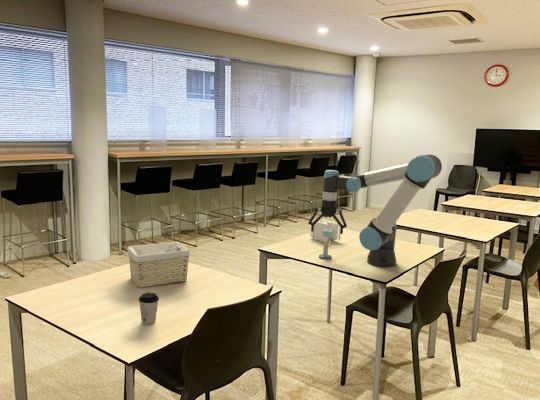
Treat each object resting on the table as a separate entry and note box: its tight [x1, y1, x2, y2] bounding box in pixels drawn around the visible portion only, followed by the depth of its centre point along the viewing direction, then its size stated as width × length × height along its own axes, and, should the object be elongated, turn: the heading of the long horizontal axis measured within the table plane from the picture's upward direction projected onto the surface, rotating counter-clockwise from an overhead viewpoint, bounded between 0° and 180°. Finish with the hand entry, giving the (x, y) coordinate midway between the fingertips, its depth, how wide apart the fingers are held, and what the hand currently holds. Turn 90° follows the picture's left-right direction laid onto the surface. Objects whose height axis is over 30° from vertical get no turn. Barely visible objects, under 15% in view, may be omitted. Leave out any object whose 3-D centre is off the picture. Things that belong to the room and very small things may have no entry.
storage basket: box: [127, 241, 190, 288], centre depth 211 cm, size 24×16×15 cm
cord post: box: [318, 229, 332, 261], centre depth 258 cm, size 7×7×16 cm
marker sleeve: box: [323, 229, 331, 237], centre depth 257 cm, size 4×4×3 cm
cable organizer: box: [309, 218, 339, 244], centre depth 296 cm, size 15×11×12 cm
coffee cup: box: [138, 292, 160, 326], centre depth 169 cm, size 7×7×10 cm
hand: (326, 238), depth 257 cm, fingers open, 13 cm apart
